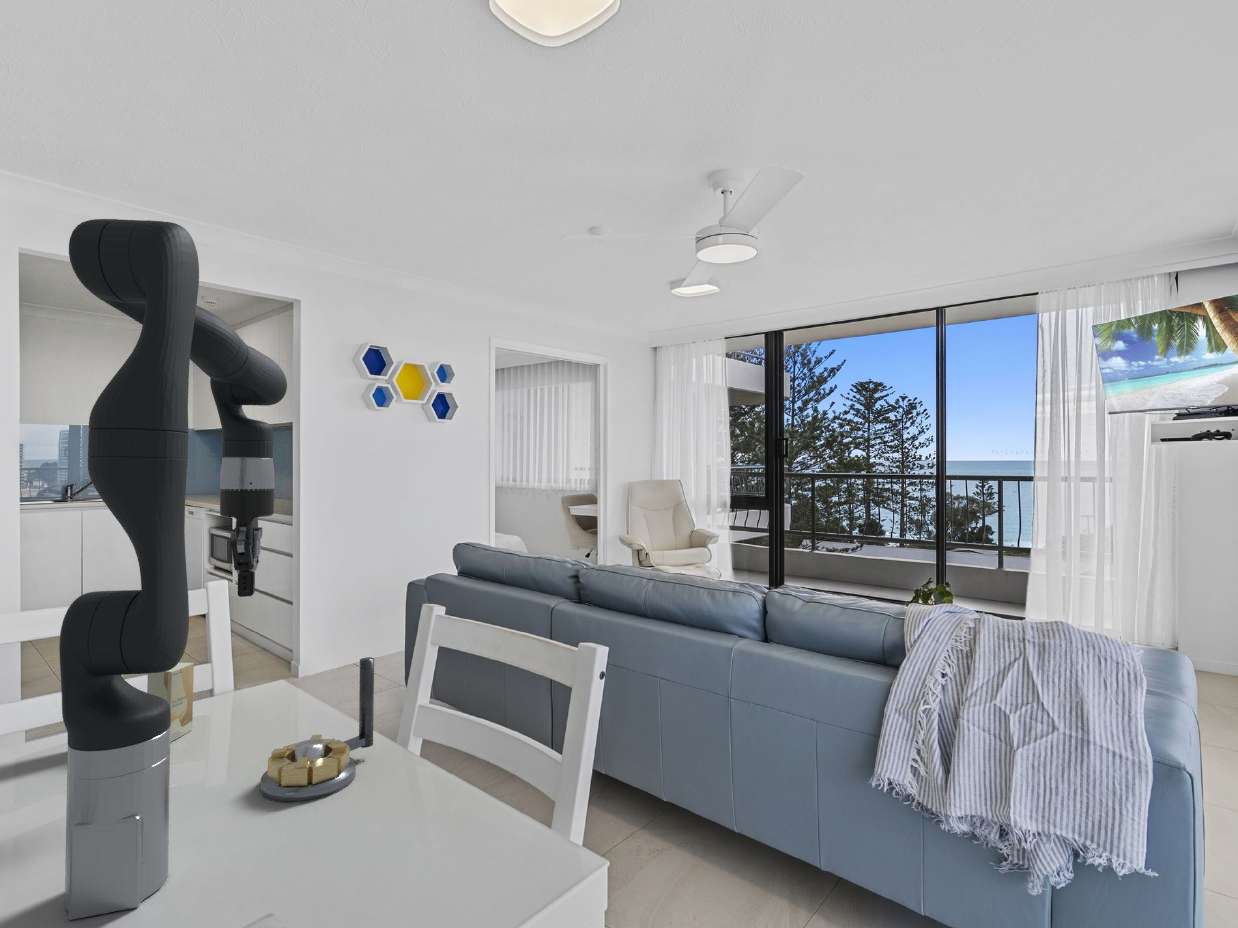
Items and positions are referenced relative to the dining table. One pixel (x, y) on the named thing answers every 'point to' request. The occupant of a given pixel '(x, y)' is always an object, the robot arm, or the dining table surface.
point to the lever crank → (328, 744)
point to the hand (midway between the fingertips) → (246, 595)
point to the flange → (311, 791)
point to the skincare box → (175, 695)
